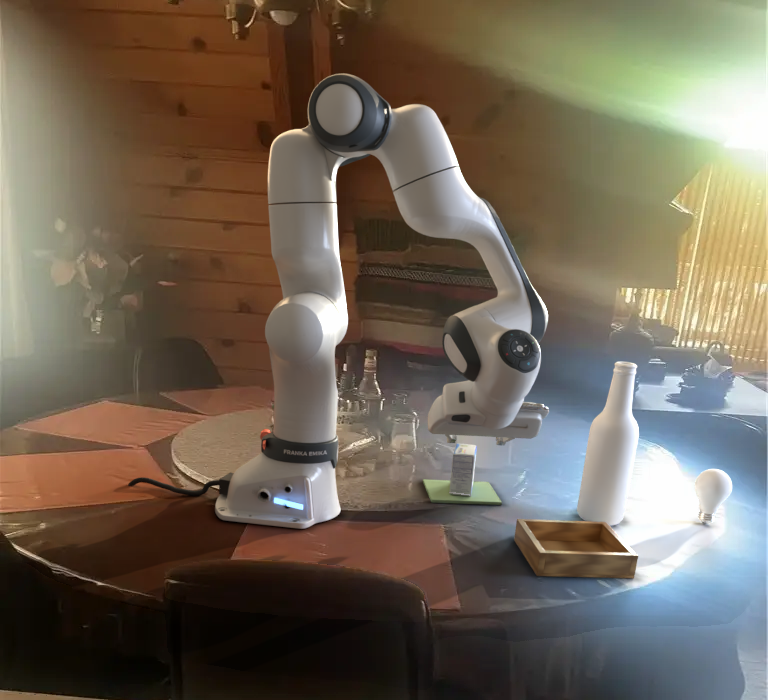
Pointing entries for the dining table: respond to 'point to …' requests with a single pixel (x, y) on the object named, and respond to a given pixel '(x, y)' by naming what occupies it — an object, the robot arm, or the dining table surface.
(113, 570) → the dining table surface
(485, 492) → the mat
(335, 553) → the dining table surface
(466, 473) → the medicine box
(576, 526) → the tray
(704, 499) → the light bulb
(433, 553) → the dining table surface
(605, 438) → the alcohol
